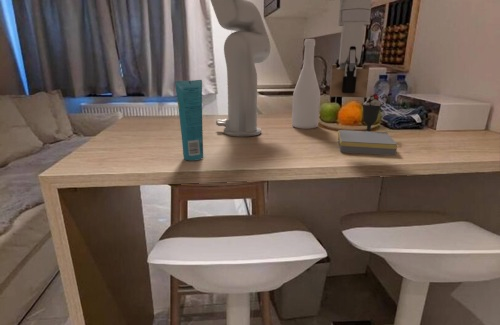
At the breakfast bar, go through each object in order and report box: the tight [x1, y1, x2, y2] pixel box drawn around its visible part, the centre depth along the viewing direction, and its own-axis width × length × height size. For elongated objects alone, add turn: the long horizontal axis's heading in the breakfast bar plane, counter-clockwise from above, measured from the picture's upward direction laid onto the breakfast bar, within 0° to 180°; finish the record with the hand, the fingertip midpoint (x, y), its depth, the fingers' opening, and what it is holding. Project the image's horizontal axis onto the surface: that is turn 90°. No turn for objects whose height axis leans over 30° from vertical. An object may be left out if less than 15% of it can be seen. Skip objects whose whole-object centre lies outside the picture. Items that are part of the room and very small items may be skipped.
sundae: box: [360, 88, 384, 132], centre depth 104 cm, size 7×7×15 cm
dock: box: [337, 129, 398, 156], centre depth 93 cm, size 14×14×3 cm
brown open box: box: [329, 63, 370, 98], centre depth 86 cm, size 9×6×8 cm
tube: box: [174, 79, 204, 162], centre depth 79 cm, size 7×5×19 cm, turn 140°
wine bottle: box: [291, 38, 321, 130], centre depth 114 cm, size 10×10×30 cm
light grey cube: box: [339, 52, 350, 69], centre depth 85 cm, size 4×4×4 cm
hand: (347, 90), depth 87 cm, fingers closed on brown open box, 6 cm apart
